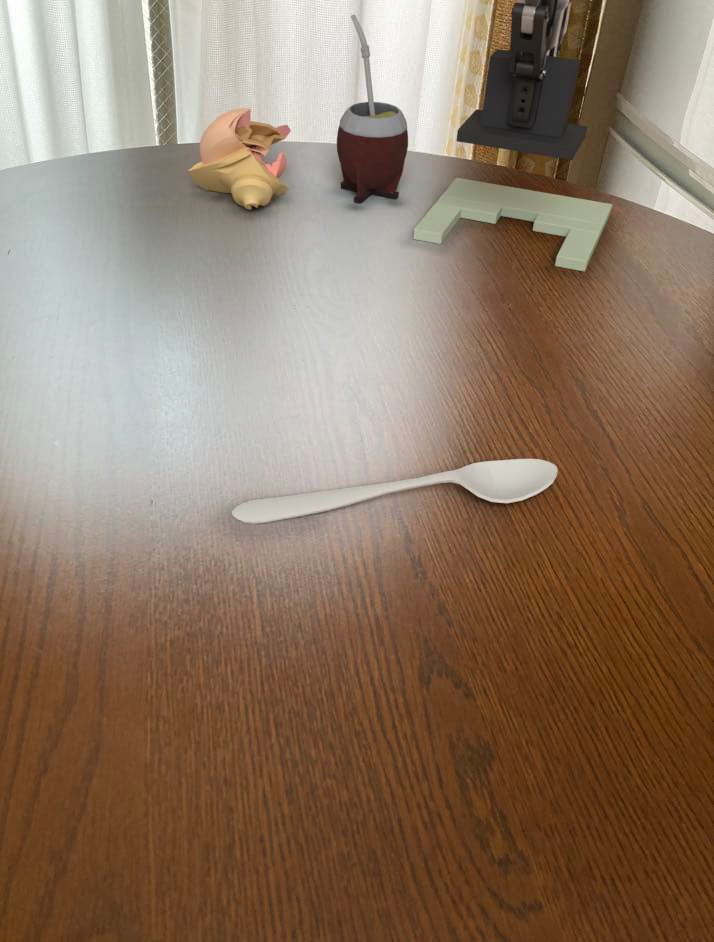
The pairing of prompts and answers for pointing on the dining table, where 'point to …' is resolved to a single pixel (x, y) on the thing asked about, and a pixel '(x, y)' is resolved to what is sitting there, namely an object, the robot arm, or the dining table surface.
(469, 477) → the spoon
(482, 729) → the dining table surface
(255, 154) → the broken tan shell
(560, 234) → the sage stepped arch block
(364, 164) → the mate gourd
